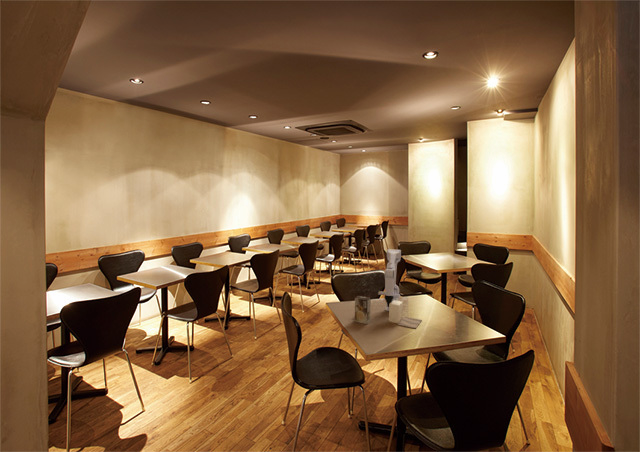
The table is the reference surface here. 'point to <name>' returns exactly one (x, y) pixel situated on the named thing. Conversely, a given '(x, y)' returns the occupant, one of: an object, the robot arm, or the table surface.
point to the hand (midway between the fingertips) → (388, 306)
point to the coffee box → (362, 309)
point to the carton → (395, 311)
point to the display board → (409, 322)
